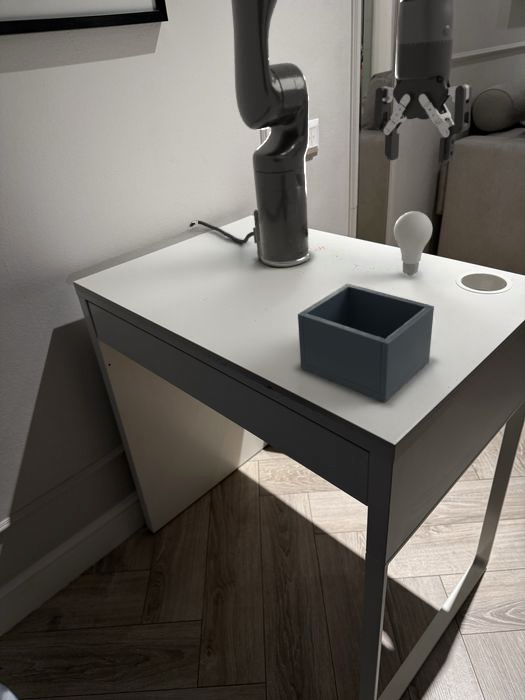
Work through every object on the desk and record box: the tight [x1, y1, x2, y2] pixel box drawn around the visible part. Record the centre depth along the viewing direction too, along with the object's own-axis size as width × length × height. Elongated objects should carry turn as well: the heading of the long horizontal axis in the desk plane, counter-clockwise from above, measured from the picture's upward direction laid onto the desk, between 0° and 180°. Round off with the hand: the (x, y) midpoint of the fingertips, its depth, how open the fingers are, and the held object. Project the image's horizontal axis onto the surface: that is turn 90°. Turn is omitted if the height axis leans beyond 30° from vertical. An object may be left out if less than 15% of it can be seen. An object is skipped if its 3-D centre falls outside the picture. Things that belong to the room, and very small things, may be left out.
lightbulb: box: [393, 210, 433, 277], centre depth 86 cm, size 6×6×11 cm
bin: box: [297, 283, 435, 403], centre depth 65 cm, size 13×11×8 cm
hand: (417, 161), depth 79 cm, fingers open, 8 cm apart
